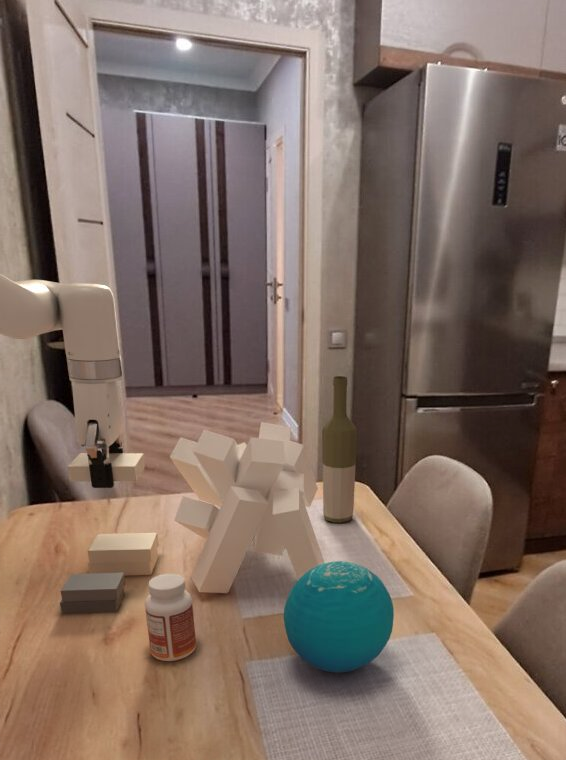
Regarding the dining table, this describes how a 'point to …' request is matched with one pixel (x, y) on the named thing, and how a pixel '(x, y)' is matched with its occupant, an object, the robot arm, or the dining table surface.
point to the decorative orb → (338, 616)
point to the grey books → (92, 593)
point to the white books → (123, 553)
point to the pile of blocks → (247, 502)
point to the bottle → (339, 458)
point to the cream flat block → (122, 467)
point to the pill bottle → (170, 618)
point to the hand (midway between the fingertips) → (109, 478)
